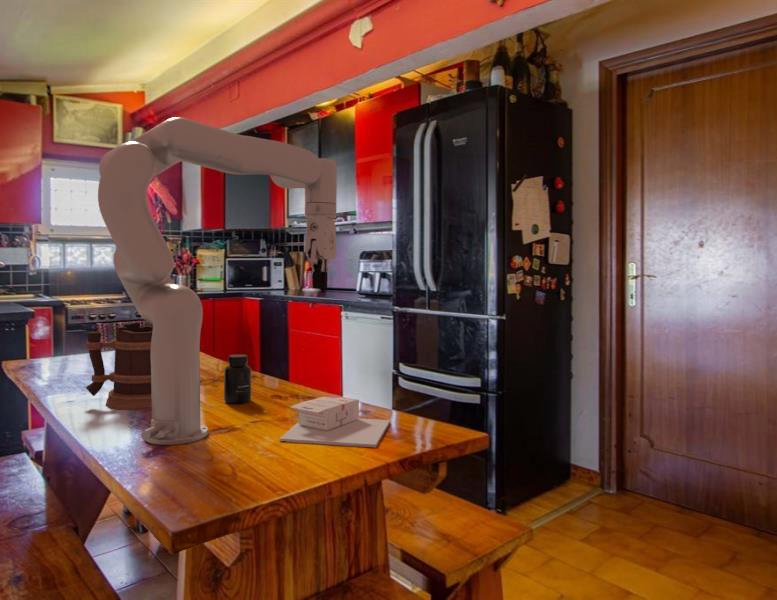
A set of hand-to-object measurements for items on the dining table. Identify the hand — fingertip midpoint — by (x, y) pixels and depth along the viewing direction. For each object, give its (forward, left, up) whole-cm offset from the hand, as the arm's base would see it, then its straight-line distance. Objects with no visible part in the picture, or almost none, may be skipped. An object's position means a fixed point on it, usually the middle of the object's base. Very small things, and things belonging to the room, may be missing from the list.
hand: (319, 288), depth 141 cm
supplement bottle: (+6, +23, -30) cm, 39 cm away
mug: (0, +48, -30) cm, 57 cm away
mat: (-15, -9, -30) cm, 35 cm away
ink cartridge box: (-5, -8, -27) cm, 29 cm away
